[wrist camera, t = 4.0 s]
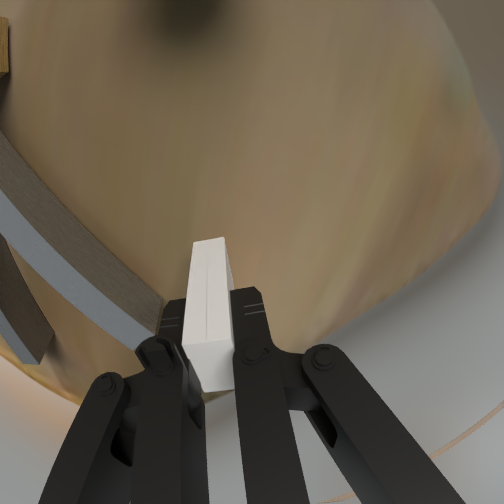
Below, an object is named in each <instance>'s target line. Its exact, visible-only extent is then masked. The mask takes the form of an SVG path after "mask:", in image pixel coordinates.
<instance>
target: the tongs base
mask: <svg viewBox="0 0 504 504" xmlns="http://www.w3.org/2000/svg"><path fill="white" fill-rule="evenodd" d="M0 333H1V335H2V336H3V338H4V339H5V340H6V342H7V343H8V344H9V346H10V347H11V348H12V350H13V351H14V352H15V354H16V355H17V356H18V358H19V359H20V360H21V361H22V363H23V364H36V365H39V364H40V362H41V360H42V358H43V356H44V353H45V351H46V349H47V347H48V345H49V343H50V341H51V339H52V337H53V335H54V331H53V329H52V328H51V326H50V325H49V323H48V322H47V320H46V318H45V317H44V315H43V314H42V312H41V310H40V309H39V307H38V305H37V303H36V302H35V300H34V298H33V296H32V295H31V293H30V291H29V289H28V287H27V285H26V284H25V282H24V280H23V278H22V276H21V274H20V272H19V270H18V268H17V266H16V264H15V261H14V259H13V257H12V255H11V253H10V250H9V248H8V246H7V244H6V241H5V239H4V237H3V235H2V234H1V233H0Z"/></svg>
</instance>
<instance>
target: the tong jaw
mask: <svg viewBox="0 0 504 504" xmlns="http://www.w3.org/2000/svg"><path fill="white" fill-rule="evenodd" d="M0 233H1V234H2V235H3V237H4V238H5V239H6V240H7V241H8V242H9V243H10V244H11V245H12V247H13V248H14V249H15V250H16V251H17V252H18V253H19V254H20V255H21V256H22V257H23V258H24V259H25V260H26V261H27V262H28V263H29V265H30V266H31V267H32V268H33V269H34V270H35V271H37V272H38V273H39V274H40V275H41V276H42V277H43V278H44V279H45V280H46V281H47V282H48V283H49V284H50V285H51V286H52V287H53V288H54V289H56V290H57V291H58V292H59V293H60V294H61V295H62V296H63V297H64V298H66V299H67V300H68V301H69V302H70V303H71V304H73V305H74V306H75V307H76V308H77V309H79V310H80V311H81V312H82V313H83V314H85V315H86V316H87V317H88V318H90V319H91V320H92V321H93V322H95V323H96V324H97V325H98V326H100V327H101V328H102V329H104V330H105V331H106V332H108V333H109V334H110V335H112V336H113V337H114V338H116V339H117V340H118V341H120V342H121V343H123V344H124V345H125V346H127V347H128V348H130V349H131V350H134V349H135V348H137V347H138V345H139V344H140V343H141V342H142V341H144V340H145V339H147V338H149V337H152V336H154V335H155V332H156V327H157V322H158V317H159V312H160V307H161V303H162V298H161V297H160V296H159V295H158V294H156V293H155V292H154V291H153V290H152V289H151V288H149V287H148V286H147V285H146V284H145V283H144V282H142V281H141V280H140V279H139V278H138V277H137V276H136V275H135V274H133V273H132V272H131V271H130V270H129V269H128V268H127V267H126V266H124V265H123V264H122V263H121V262H120V261H119V260H118V259H117V258H116V257H115V256H114V255H113V254H111V253H110V252H109V251H108V250H107V249H106V248H105V247H104V246H103V245H102V244H101V243H100V242H99V241H98V240H97V239H96V238H95V237H94V236H93V235H92V234H91V233H90V232H89V231H88V230H87V229H86V228H85V227H84V226H83V225H82V224H81V223H80V222H79V221H78V220H77V219H76V218H75V217H74V216H73V215H72V214H71V213H70V212H69V211H68V210H67V209H66V208H65V207H64V206H63V204H62V203H61V202H60V201H59V200H58V199H57V198H56V197H55V196H54V195H53V194H52V192H51V191H50V190H49V189H48V188H47V187H46V186H45V185H44V184H43V182H42V181H41V180H40V179H39V178H38V177H37V175H36V174H35V173H34V172H33V171H32V170H31V168H30V167H29V166H28V165H27V164H26V162H25V161H24V160H23V159H22V157H21V156H20V155H19V154H18V152H17V151H16V150H15V149H14V147H13V146H12V145H11V144H10V142H9V141H8V140H7V138H6V137H5V136H4V134H3V133H2V132H1V130H0Z"/></svg>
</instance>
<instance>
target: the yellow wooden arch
mask: <svg viewBox="0 0 504 504" xmlns="http://www.w3.org/2000/svg"><path fill="white" fill-rule="evenodd" d="M7 72H9V68H8V18H4V17H0V77H2V76H3V75H5V74H6V73H7Z"/></svg>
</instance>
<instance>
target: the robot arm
mask: <svg viewBox="0 0 504 504" xmlns="http://www.w3.org/2000/svg"><path fill="white" fill-rule="evenodd" d="M161 319H162V321H161V324H160V329H159V335H156V336H152V337H149V338H147V339H145V340H144V341H142V342H141V343H140V344H139V345H138V347H137V349H136V351H135V354H136V355H137V357H138V359H139V360H140V362H141V363H142V365H143V367H144V368H145V370H144V371H142V372H140V373H138V374H135V375H133V376H130V377H127V378H124V379H123V378H122V377H121V376H120V374H117V373H115V372H107V373H104V374H102V375H100V376H99V377H97V378H96V379H95V381H94V382H93V383H92V385H91V387H90V389H89V391H88V393H87V395H86V397H85V399H84V401H83V403H82V404H81V406H80V409H79V411H78V412H77V415H76V417H75V419H74V421H73V423H72V425H71V427H70V429H69V431H68V433H67V436H66V438H65V440H64V442H63V444H62V446H61V449H60V451H59V453H58V456H57V458H56V460H55V462H54V465H53V467H52V469H51V472H50V475H49V477H48V479H47V482H46V485H45V487H44V490H43V492H42V495H41V497H40V500H39V503H38V504H129V503H130V504H209V490H208V476H207V457H206V432H205V405H204V401H203V399H202V397H201V387H202V389H203V391H204V393H205V392H214V391H223V390H231V389H235V396H236V407H237V417H238V427H239V437H240V446H241V455H242V464H243V473H244V481H245V489H246V497H247V504H310V502H309V498H308V494H307V489H306V485H305V480H304V476H303V472H302V467H301V463H300V458H299V454H298V449H297V445H296V441H295V436H294V432H293V427H292V423H291V418H290V414H289V410H300V411H304V413H305V414H306V416H307V418H308V419H309V421H310V422H311V424H312V426H313V427H314V429H315V431H316V432H317V434H318V435H319V437H320V439H321V440H322V442H323V444H324V445H325V447H326V448H327V450H328V452H329V453H330V455H331V456H332V458H333V459H334V461H335V463H336V464H337V466H338V468H339V469H340V471H341V472H342V474H343V475H344V477H345V478H346V480H347V482H348V483H349V485H350V486H351V487H352V489H353V491H354V492H355V494H356V495H357V497H358V498H359V500H360V501H361V503H362V504H466V503H465V502H464V501H463V500H462V498H461V497H460V496H459V494H458V493H457V492H456V491H455V490H454V488H453V487H452V486H451V484H450V483H449V482H448V481H447V479H446V478H445V477H444V476H443V474H442V473H441V472H440V471H439V469H438V468H437V467H436V466H435V464H434V463H433V462H432V461H431V459H430V458H429V457H428V456H427V454H426V453H425V452H424V451H423V450H422V448H421V447H420V446H419V444H418V443H417V442H416V441H415V439H414V438H413V437H412V436H411V434H410V433H409V432H408V431H407V430H406V428H405V427H404V426H403V425H402V423H401V422H400V421H399V420H398V418H397V417H396V416H395V415H394V413H393V412H392V411H391V410H390V409H389V407H388V406H387V405H386V404H385V403H384V401H383V400H382V399H381V397H380V396H379V395H378V394H377V393H376V391H375V390H374V389H373V388H372V387H371V385H370V384H369V383H368V381H367V380H366V379H365V378H364V377H363V375H362V374H361V373H360V372H359V370H358V369H357V368H356V367H355V366H354V364H353V363H352V362H351V361H350V359H349V358H348V357H347V356H346V355H345V353H344V352H342V350H340V349H339V348H338V347H336V346H333V345H330V344H319V345H316V346H313V347H311V348H310V349H308V350H307V351H306V352H305V354H297V353H288V352H285V351H282V350H280V349H279V348H277V347H276V346H275V345H274V343H273V341H272V339H271V335H270V331H269V326H268V322H267V317H266V313H265V309H264V304H263V300H262V295H261V293H260V292H259V291H258V290H257V289H256V288H255V287H254V286H253V287H248V288H242V289H236V290H234V284H233V279H232V274H231V269H230V264H229V259H228V254H227V249H226V244H225V239H224V237H221V238H215V239H209V240H204V241H198V242H194V244H193V251H192V258H191V266H190V273H189V281H188V290H187V298H184V299H178V300H171V301H169V302H168V304H167V305H166V306H165V308H164V309H163V313H162V318H161ZM130 500H131V502H130Z"/></svg>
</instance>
